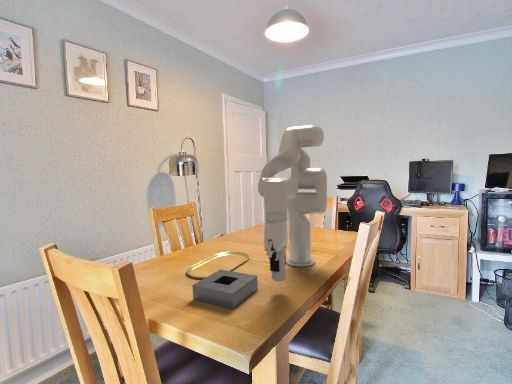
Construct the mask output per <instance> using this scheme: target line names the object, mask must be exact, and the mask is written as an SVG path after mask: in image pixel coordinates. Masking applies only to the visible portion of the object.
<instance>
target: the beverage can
mask: <svg viewBox="0 0 512 384" xmlns="http://www.w3.org/2000/svg"><path fill="white" fill-rule="evenodd" d="M272 250H273V251H275V249H272ZM272 254H274V255H275V253H272ZM285 255H286V254H285V249H284V246H282V249H281V250H280V251H278V260H279V270H280V271H279V272H274V271H271V279H272V280H273V281H275V282H283V281H284V280H285V279H286V278H287V277H286V266H285Z"/></svg>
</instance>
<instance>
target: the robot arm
mask: <svg viewBox="0 0 512 384" xmlns="http://www.w3.org/2000/svg"><path fill="white" fill-rule="evenodd" d="M324 135H325V134H324V130H323V128H322V127H321V126H318V125H301V126H292V127H288V128H286V129H285V130H284V131H283V134H282V137H281V140H280V144H279V148H278V152H277V154H276V155H275V156H274V157H272V158H271V159H270V160H269V161H268V162H267V163H266V164H265V165H264V166H263V167H262V169H261V172H260V176H259V179H258V184H257V192H258V195H259V196H260V197H262V198H263V202H264V203H263V204H264V205H263V206H264V221H265V222H264V232H263V244H264V245H263V246H264V251H265V252H266V256H267V257H268V260H269V268H270V269H269V270H270V272H272V271H274V272H279V271H280V270H279V260H278V251H280V250H281V249H282V246H284V249H285V267H286V266H287V264H288V265H290V266H292V267H300V268H303V267H311V266H312V265H314V264H315V261H316V259H314V258H313V257H312V246H311V245H312V243H311V242H312V239H311V237H312V236H311V235H312V234H311V222H310V220H309V218H308V217H307V216H306V215H323V214H325V212H326V210H327V202H328V199H327V198H328V197H327V196H328V195H327V194H328V178H327V173H326V170H325V169H324V168H321V167H311V156H310V155H309V154H308V153H307V152H306V151H305V149H303V148H313V147H315V148H316V147H320V146H322V144H323V143H324V139H325V138H324V137H325V136H324ZM288 169H290V176H276V174H277V175H278V174H279V173H281V172H284V171H286V170H288ZM299 190H302V191H303V192H302V191H301V192H300V191H299ZM305 190H308V192H307V191H306V192H305ZM310 190H314V191H315V192H309V191H310ZM287 221H288V224H287ZM288 243H289V244H288ZM287 245H289V257H287V256H286V253H287V250H286V249H287ZM272 249H275V251H273V250H272ZM272 253H275V255H274V254H272Z"/></svg>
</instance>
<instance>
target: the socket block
mask: <svg viewBox="0 0 512 384" xmlns="http://www.w3.org/2000/svg"><path fill="white" fill-rule="evenodd" d="M205 277H206V278H204V279H201V280H199V281H197V282H196V283H194V284H192V300H193V301H198V302H202V303H206V304H209V305H213V306H217V307H218V306H219V307H223V308H226V309H230V310H234V309H235V308H236V307H238V306H239V305H241V304H242V303H243V302H245V300H247V299H248V298H249V297H250V296H251V295H253V294H254V293H255V292H256V291H258V290H259V285H258V284H259V283H258V280H259V279H258V275H256V274H250V273H245V272H238V271H233V270H232V271H229V270H226V269H221V268H220V269H219V270H217V271H215V272H213V273H211V274H210V275H208V276H205Z"/></svg>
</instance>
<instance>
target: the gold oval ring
mask: <svg viewBox="0 0 512 384" xmlns="http://www.w3.org/2000/svg"><path fill="white" fill-rule="evenodd" d="M231 255H232V256H233V255H234V256H241V257H244V258H245V260H243V261H242V262H240V263H238V264H237V265H236V266H234V267H232V268H230V269H229V270H228V271H233V270H235V269H237V268H239V267H240V266H241V265H242V264H243V265H244V264H245V263H246V262H247V261H249V259H250V255H249V254H248V253H246V252H244V251H243V252H242V251H226V252H219V253H216V254H214V255H211V256H209V257H207V258H205V259H203V260H201V261H199V262H197V263H195V264H193V265H191V266H189V267H188V268H187V269H186V273H187V275H188V276H190V277H191V278H194V279H199V280H200V279H201V280H203V279H204V278H206V277H207V276H198V275H197V276H196V275H193V274H192V271H193V270H195V269H197V268H200V267H201V266H203V265H205V264H207V263H210V262H211V261H213V260H216V259H217V258H220V257H223V256H231ZM212 259H213V260H212ZM210 260H211V261H210Z"/></svg>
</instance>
